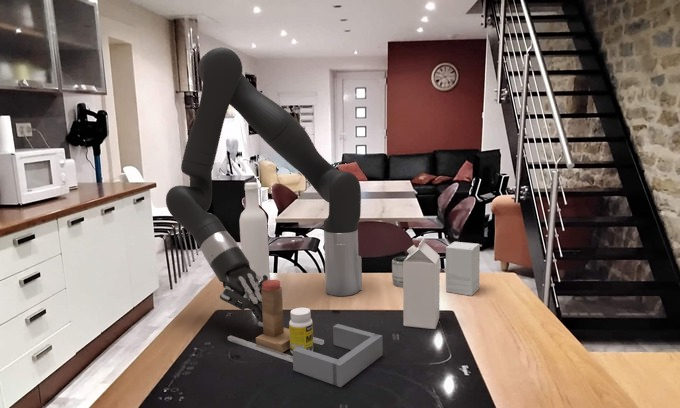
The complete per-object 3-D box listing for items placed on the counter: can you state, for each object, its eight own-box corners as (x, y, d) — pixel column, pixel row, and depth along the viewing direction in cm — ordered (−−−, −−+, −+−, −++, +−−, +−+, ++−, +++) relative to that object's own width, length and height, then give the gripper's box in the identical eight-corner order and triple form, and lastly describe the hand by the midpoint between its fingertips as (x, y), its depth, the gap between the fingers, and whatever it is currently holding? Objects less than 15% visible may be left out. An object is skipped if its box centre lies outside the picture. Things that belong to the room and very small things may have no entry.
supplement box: (480, 288, 130) (480, 243, 128) (471, 296, 124) (472, 249, 122) (453, 284, 134) (454, 240, 132) (444, 292, 128) (445, 246, 126)
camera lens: (418, 283, 136) (418, 256, 135) (407, 289, 131) (407, 261, 130) (399, 279, 140) (399, 253, 139) (388, 285, 135) (387, 258, 134)
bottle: (261, 280, 143) (255, 180, 138) (276, 285, 137) (271, 182, 132) (237, 286, 137) (231, 183, 133) (252, 292, 132) (246, 185, 127)
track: (260, 324, 109) (260, 321, 109) (324, 343, 99) (324, 340, 98) (227, 340, 101) (227, 336, 101) (293, 362, 91) (292, 358, 91)
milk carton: (439, 317, 111) (440, 238, 108) (435, 330, 104) (435, 245, 101) (409, 314, 113) (409, 236, 110) (403, 326, 106) (402, 243, 103)
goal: (338, 341, 99) (337, 323, 99) (382, 354, 93) (382, 335, 92) (293, 370, 88) (292, 350, 87) (340, 387, 82) (340, 365, 81)
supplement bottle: (309, 357, 93) (308, 316, 92) (287, 355, 94) (285, 314, 93) (316, 346, 97) (314, 307, 96) (294, 344, 99) (292, 306, 97)
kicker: (279, 332, 104) (276, 276, 102) (304, 340, 100) (302, 282, 98) (256, 344, 98) (252, 285, 97) (281, 352, 94) (278, 291, 92)
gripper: (207, 252, 99) (251, 321, 94) (253, 240, 109) (295, 301, 104) (193, 273, 103) (234, 340, 98) (239, 259, 113) (279, 318, 108)
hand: (266, 319), depth 101 cm, fingers closed
